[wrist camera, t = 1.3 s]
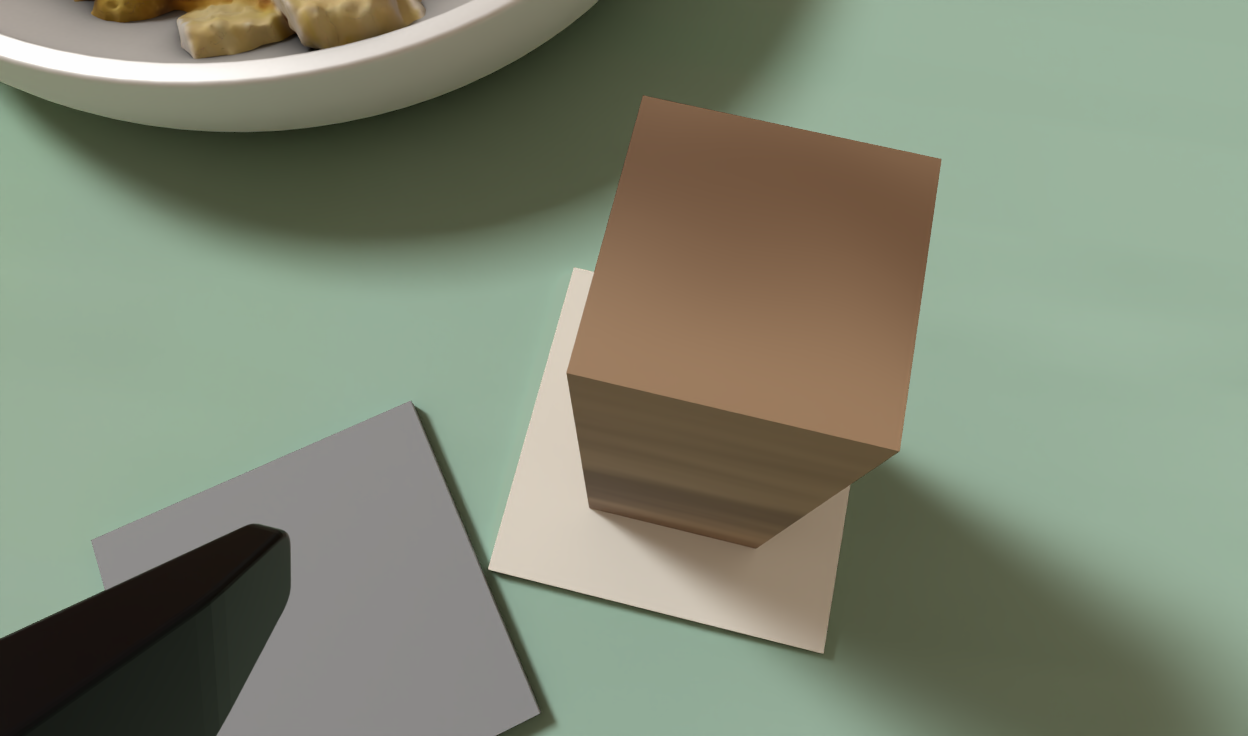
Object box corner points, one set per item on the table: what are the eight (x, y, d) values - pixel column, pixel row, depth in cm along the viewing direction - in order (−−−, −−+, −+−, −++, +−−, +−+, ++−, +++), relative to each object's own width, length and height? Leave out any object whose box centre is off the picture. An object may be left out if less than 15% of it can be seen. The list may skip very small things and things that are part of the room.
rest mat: (541, 712, 22) (539, 713, 21) (197, 885, 20) (189, 890, 20) (413, 404, 24) (410, 400, 24) (99, 542, 23) (90, 540, 23)
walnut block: (755, 548, 23) (899, 451, 11) (589, 508, 23) (566, 373, 12) (786, 388, 24) (941, 158, 13) (628, 352, 24) (643, 95, 13)
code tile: (820, 653, 22) (823, 653, 22) (489, 570, 23) (488, 569, 23) (871, 339, 25) (874, 335, 25) (574, 271, 26) (573, 267, 25)
